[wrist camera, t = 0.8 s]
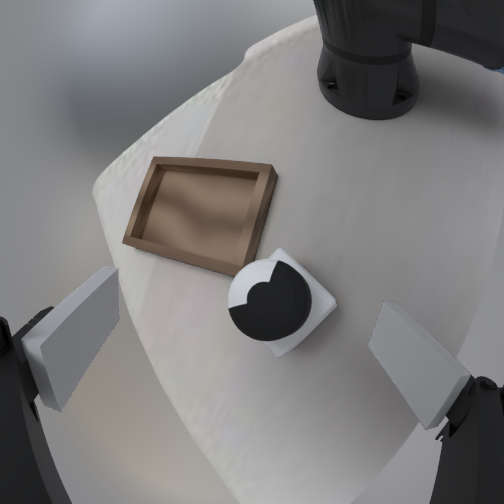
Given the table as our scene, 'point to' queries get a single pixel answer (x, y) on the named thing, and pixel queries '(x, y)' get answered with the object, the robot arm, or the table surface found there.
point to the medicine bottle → (278, 302)
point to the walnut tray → (202, 211)
